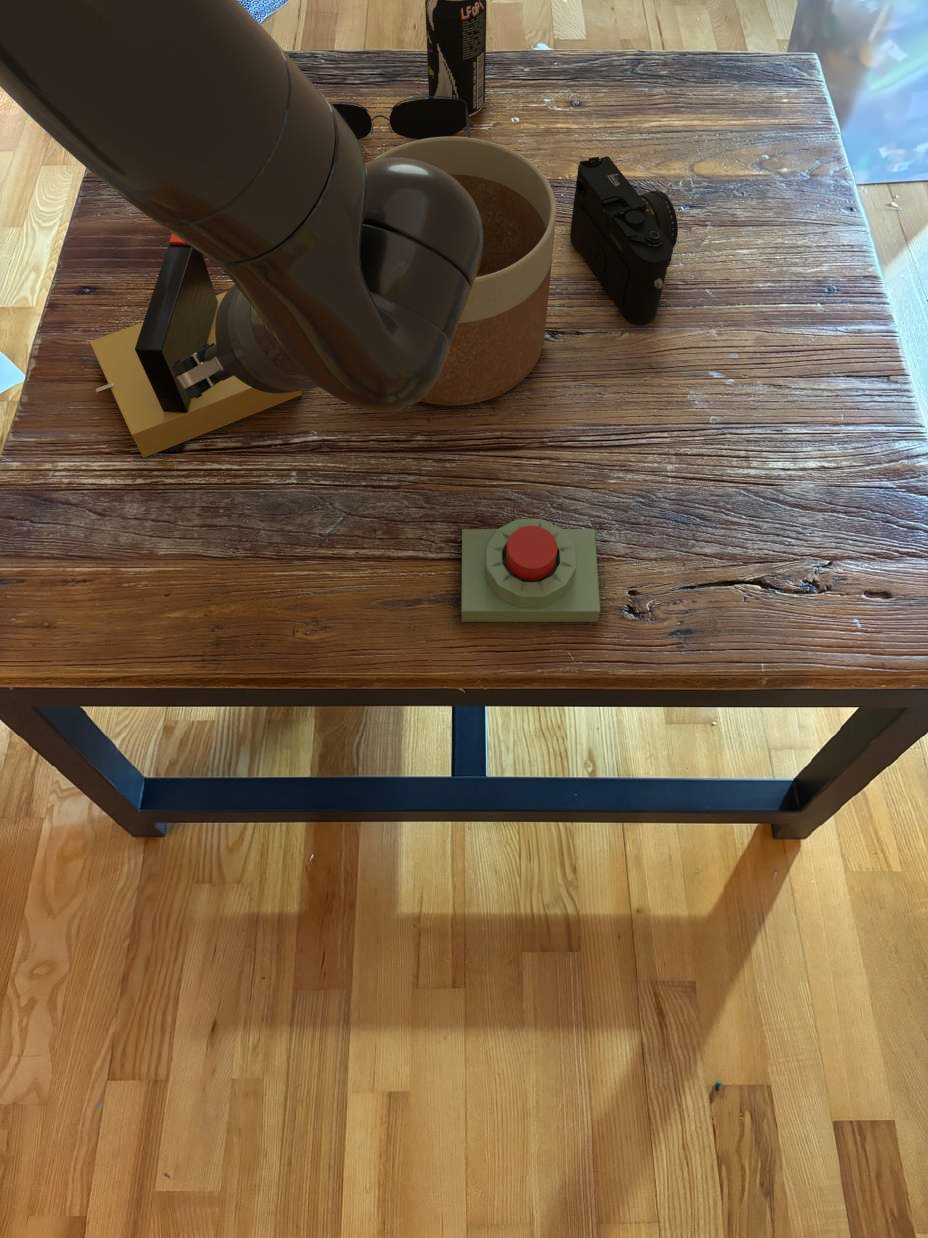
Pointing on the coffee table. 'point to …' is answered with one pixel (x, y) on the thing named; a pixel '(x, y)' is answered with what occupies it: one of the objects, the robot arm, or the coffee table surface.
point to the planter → (496, 267)
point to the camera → (623, 237)
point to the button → (531, 552)
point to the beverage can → (457, 50)
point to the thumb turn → (176, 321)
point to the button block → (518, 600)
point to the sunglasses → (412, 117)
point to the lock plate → (144, 409)
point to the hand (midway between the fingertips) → (232, 350)
